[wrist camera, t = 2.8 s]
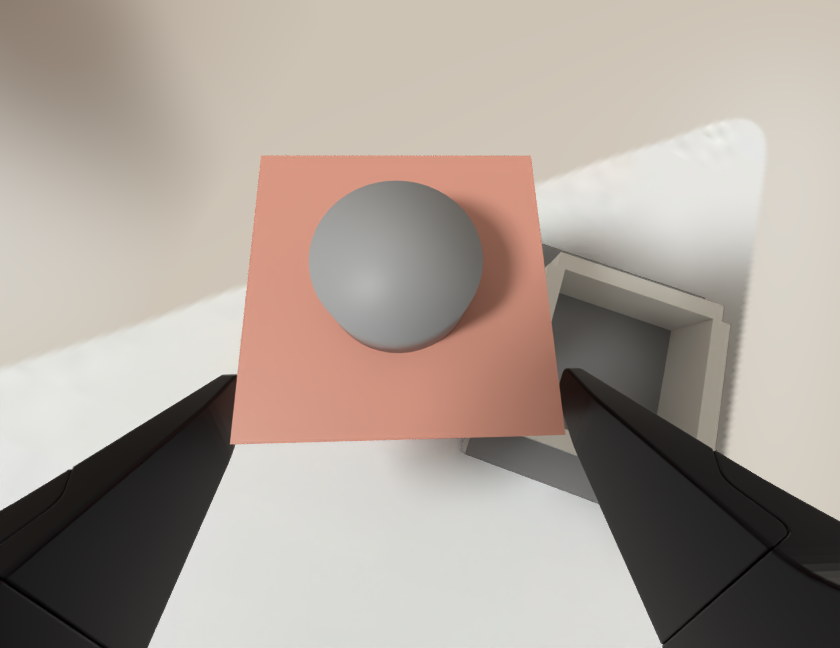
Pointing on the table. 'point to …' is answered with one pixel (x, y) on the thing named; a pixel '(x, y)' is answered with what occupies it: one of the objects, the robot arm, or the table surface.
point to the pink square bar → (396, 302)
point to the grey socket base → (621, 360)
